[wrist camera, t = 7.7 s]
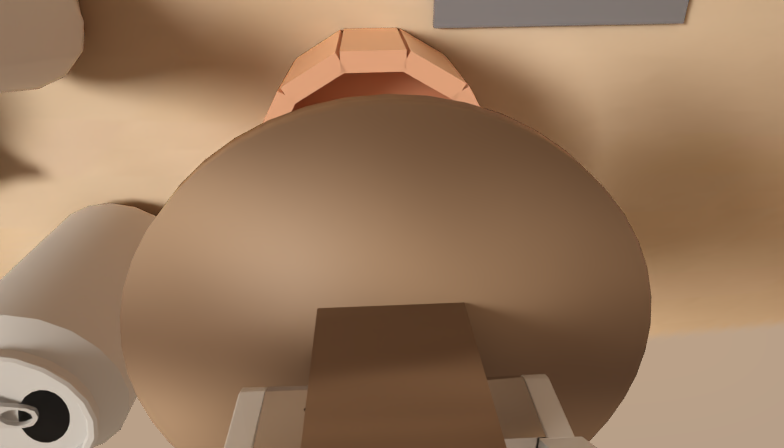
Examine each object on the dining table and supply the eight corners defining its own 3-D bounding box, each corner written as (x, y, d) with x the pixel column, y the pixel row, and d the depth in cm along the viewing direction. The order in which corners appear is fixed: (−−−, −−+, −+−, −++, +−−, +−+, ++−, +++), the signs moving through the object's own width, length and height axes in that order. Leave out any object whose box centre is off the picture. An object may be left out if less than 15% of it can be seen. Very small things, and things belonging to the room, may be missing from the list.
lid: (66, 100, 10) (-156, 217, 6) (691, 86, 10) (919, 184, 6) (187, 507, 15) (122, 719, 11) (590, 485, 16) (672, 680, 12)
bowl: (263, 30, 25) (237, 53, 19) (474, 26, 25) (505, 47, 20) (285, 219, 29) (269, 279, 24) (463, 213, 30) (486, 271, 25)
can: (184, 322, 32) (99, 506, 22) (54, 289, 31) (-106, 470, 20) (210, 220, 29) (126, 376, 19) (66, 178, 28) (-115, 323, 17)
